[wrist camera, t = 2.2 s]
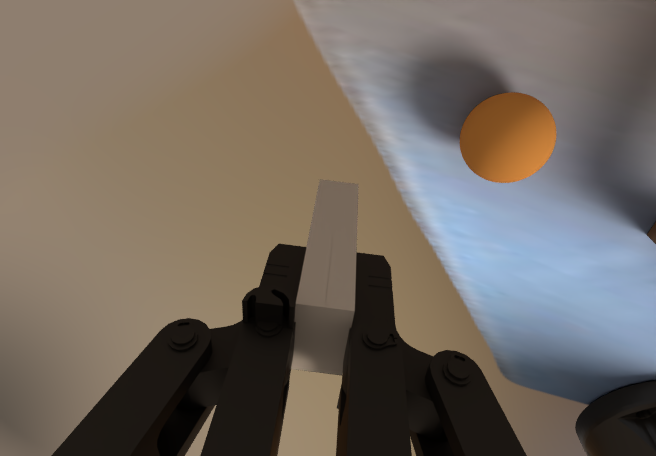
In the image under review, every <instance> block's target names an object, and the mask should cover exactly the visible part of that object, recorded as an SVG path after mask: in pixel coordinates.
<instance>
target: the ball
mask: <svg viewBox="0 0 656 456" xmlns="http://www.w3.org/2000/svg"><path fill="white" fill-rule="evenodd" d="M555 142H556V126H555V122H554V119H553V117H552V114H551V113H550V111H549V110H548V109H547V107H546V106H545V105H544V104H543V103H542V102H540V101H539V100H537V99H536V98H534V97H532V96H529V95H526V94H522V93H513V92H511V93H503V94H498V95H495V96H492V97H490V98H488V99H486V100H484V101H483V102H481V103H480V104H479V105H477V106H476V107H475V108H474V109H473V110H472V111H471V112H470V114H469V115H468V117H467V118H466V120H465V122H464V124H463V127H462V129H461V134H460V149H461V153H462V156H463V159H464V161H465V162H466V164H467V165H468V167H469V168H470V169H471V170H472V171H473V172H474V173H475V174H477V175H478V176H480V177H482V178H484V179H486V180H489V181H492V182H499V183H509V182H515V181H519V180H522V179H524V178H527V177H529V176H530V175H532V174H534V173H535V172H536V171H538V170H539V169H540V168H541V167H542V166H543V165H544V164H545V163H546V162H547V160H548V159H549V157H550V155H551V154H552V151H553V149H554V146H555Z"/></svg>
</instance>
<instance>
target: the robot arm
mask: <svg viewBox="0 0 656 456" xmlns="http://www.w3.org/2000/svg"><path fill="white" fill-rule="evenodd" d="M357 215H358V184H353V183H344V182H336V181H329V180H320V182H319V186H318V192H317V197H316V202H315V207H314V212H313V217H312V222H311V227H310V232H309V238H308V243H307V247H301V246H293V245H285V244H278V245H277V246H276V247H275V248H274V249H273V250H272V251H271V252H270V254H269V257H268V260H267V263H266V266H265V270H264V274H263V276H262V279H261V283H260V286H259V287H258V288H255V289H253V290H251V291H250V292H248V293H247V294H246V296H245V297H244V299H243V300H242V306H243V307H242V308H243V320H242V321H240V322H238V323H236V324H234V325H231V326H227V327H221V328H214V329H209V328H208V327H207V325H206V324H205V323H203V322H201V321H200V320H196V319H190V318H187V319H180V320H177V321H174V322H172V323H170V324H168V325H167V326H165V327H164V328H163V329H162V330H161V331H160V332H159V333H158V334H157V335H156V336H155V337H154V339H153V340H152V341H151V342H150V343H149V345H148V346H147V347H146V348H145V349H144V350H143V351H142V352H141V354H140V355H139V356H138V357H137V358H136V359H135V360H134V362H133V363H132V364H131V365H130V366H129V367H128V368H127V370H126V371H125V372H124V373H123V374H122V375H121V376H120V378H119V379H118V380H117V381H116V382H115V384H114V385H113V386H112V387H111V388H110V389H109V390H108V391H107V393H106V394H105V395H104V396H103V397H102V398H101V399H100V401H99V402H98V403H97V404H96V405H95V406H94V407H93V409H92V410H91V411H90V412H89V413H88V414H87V416H86V417H85V418H84V419H83V420H82V421H81V422H80V424H79V425H78V426H77V427H76V428H75V429H74V431H73V432H72V433H71V434H70V435H69V436H68V437H67V439H66V440H65V441H64V442H63V443H62V444H61V446H60V447H59V448H58V449H57V450H56V451H55V452H54V453H53V455H52V456H185V454H186V453H187V451H188V449H189V448H190V446H191V444H192V443H193V441H194V439H195V438H196V436H197V434H198V433H199V431H200V429H201V428H202V426H203V424H204V422H205V421H206V419H207V418H208V416H209V414H210V413H211V411H212V409H213V408H214V406H215V405H217V406H216V409H215V412H214V415H213V418H212V421H211V424H210V428H209V431H208V434H207V437H206V440H205V443H204V446H203V450H202V453H201V456H277V454H278V448H279V442H280V436H281V431H282V425H283V419H284V413H285V407H286V401H287V395H288V389H289V378H290V371H291V369H296V370H304V371H311V372H320V373H328V374H335V375H342V385H341V390H340V395H339V400H338V405H337V408H338V409H339V415H338V432H337V448H336V456H412V454H411V443H410V437H411V440H412V443H413V447H414V450H415V453H416V456H527V455H526V454H525V452H524V450H523V448H522V446H521V444H520V442H519V440H518V439H517V437H516V435H515V433H514V431H513V429H512V427H511V425H510V423H509V422H508V420H507V418H506V416H505V414H504V412H503V410H502V408H501V407H500V405H499V403H498V401H497V399H496V397H495V395H494V393H493V392H492V390H491V388H490V386H489V384H488V382H487V380H486V379H485V376H484V375H483V373H482V371H481V369H480V368H479V367H478V365H477V364H476V363H475V362H474V361H473V360H472V359H470V358H469V357H468V356H466V355H465V354H462V353H460V352H457V351H450V350H445V351H442V352H438V353H437V354H436V355H435V356H431V355H428V354H426V353H423V352H421V351H418V350H416V349H415V348H413V347H411V346H409V345H408V344H407V343H406V342H404V341H403V339H402V338H401V337H400V336H399V334H398V332H397V331H396V326H395V317H394V304H393V292H392V281H391V267H390V266H389V264H388V262H387V261H386V259H385V257H384V256H380V255H372V254H365V253H357V252H356V250H357V247H356V246H357ZM342 372H343V374H342ZM575 428H576V433H577V435H578V437H579V440H580V442H581V444H582V446H583V449H584V451H585V452H586V454H587V456H656V381H651V382H645V383H640V384H635V385H632V386H628V387H625V388H622V389H619V390H616V391H613V392H611V393H609V394H607V395H605V396H603V397H601V398H599V399H597V400H596V401H594V402H593V403H591V404H590V405H589V406H588V407H586V408H585V410H583V412H582V413H581V414H580V415H579V417H578V419H577V422H576V427H575Z"/></svg>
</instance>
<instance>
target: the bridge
mask: <svg viewBox="0 0 656 456" xmlns="http://www.w3.org/2000/svg"><path fill="white" fill-rule="evenodd" d="M647 236H648V237H649V238H650V239H651V240H652V241H653V242H654V243H655V244H656V222H655V224H654V225H653V227H652V228H651V229H650V231H649V232H648V234H647Z"/></svg>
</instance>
